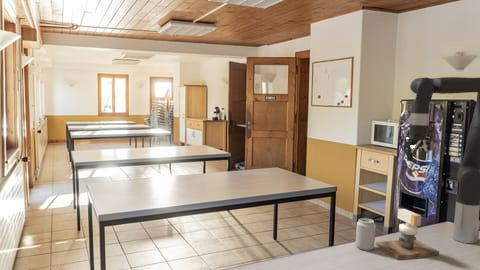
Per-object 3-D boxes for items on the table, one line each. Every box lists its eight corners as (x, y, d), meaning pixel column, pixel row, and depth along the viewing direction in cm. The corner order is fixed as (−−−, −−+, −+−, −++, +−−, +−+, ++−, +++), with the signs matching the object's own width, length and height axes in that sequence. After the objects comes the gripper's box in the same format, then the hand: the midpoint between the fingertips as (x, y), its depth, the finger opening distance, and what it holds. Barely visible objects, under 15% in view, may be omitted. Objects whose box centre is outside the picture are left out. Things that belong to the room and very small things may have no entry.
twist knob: (392, 228, 161) (394, 209, 160) (406, 227, 163) (408, 208, 162) (409, 237, 151) (410, 216, 150) (423, 235, 153) (425, 215, 152)
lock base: (414, 242, 167) (416, 225, 166) (439, 255, 154) (440, 237, 153) (375, 245, 162) (376, 228, 161) (397, 259, 148) (398, 240, 148)
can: (370, 244, 163) (371, 217, 162) (376, 251, 156) (378, 223, 155) (352, 244, 163) (354, 217, 162) (359, 251, 156) (360, 222, 154)
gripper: (422, 123, 171) (419, 158, 173) (400, 123, 165) (398, 160, 167) (437, 124, 165) (434, 161, 166) (415, 124, 158) (412, 162, 160)
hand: (416, 160), depth 166 cm, fingers open, 8 cm apart
